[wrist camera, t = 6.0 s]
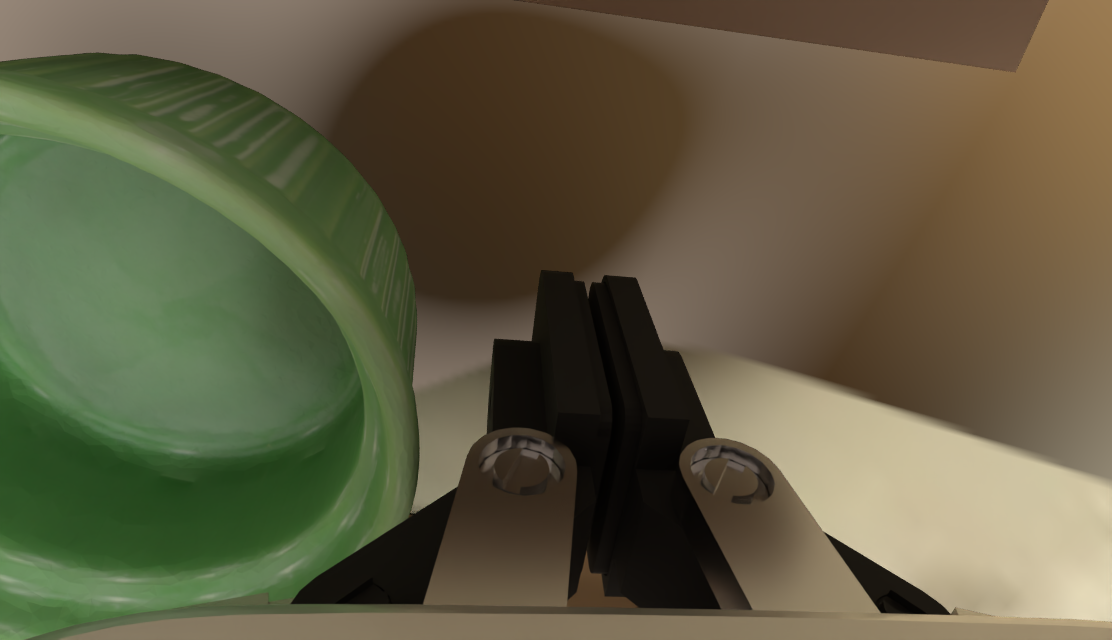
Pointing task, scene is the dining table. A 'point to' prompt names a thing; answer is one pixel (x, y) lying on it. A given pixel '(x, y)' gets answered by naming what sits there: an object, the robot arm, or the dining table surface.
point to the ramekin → (188, 345)
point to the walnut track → (850, 22)
